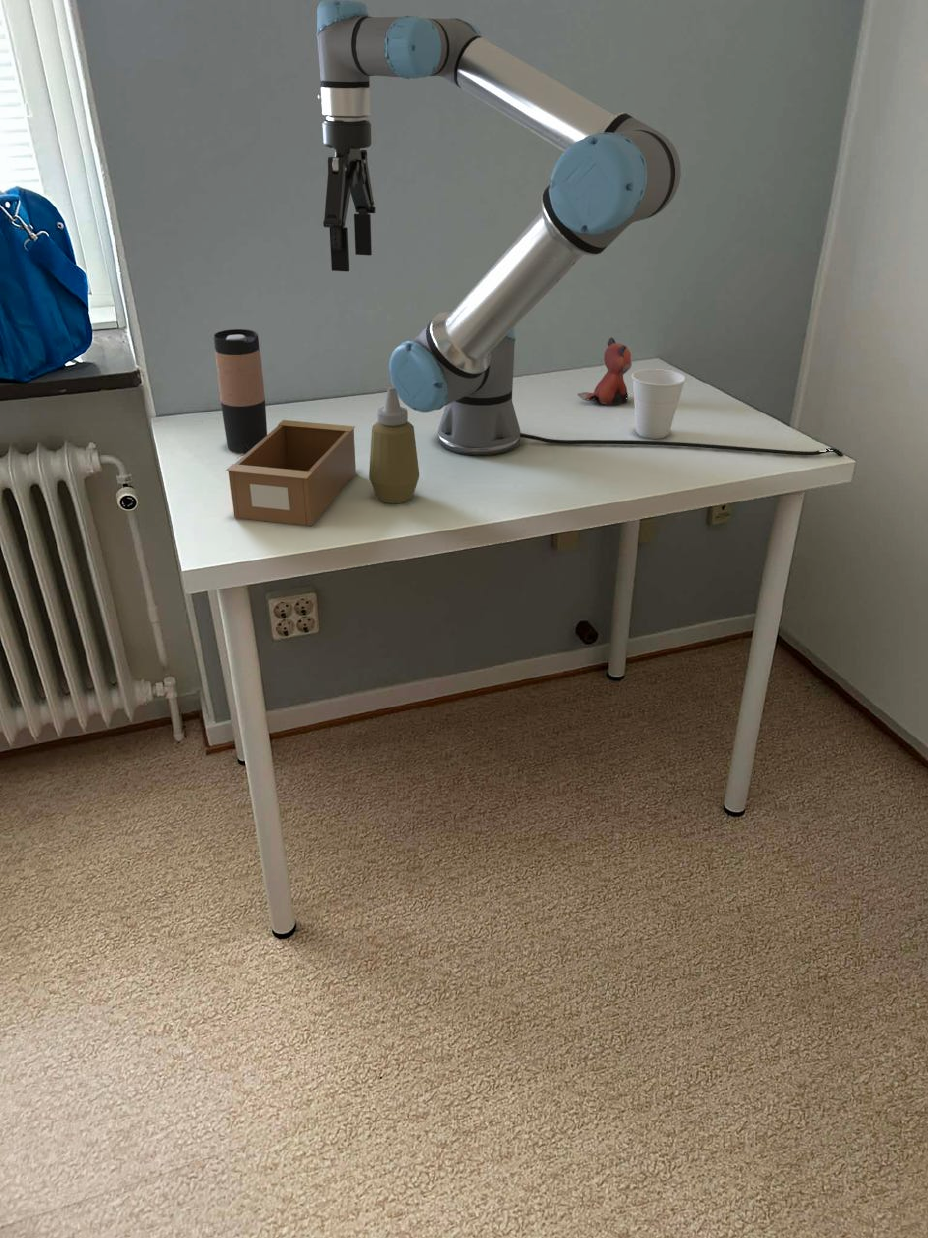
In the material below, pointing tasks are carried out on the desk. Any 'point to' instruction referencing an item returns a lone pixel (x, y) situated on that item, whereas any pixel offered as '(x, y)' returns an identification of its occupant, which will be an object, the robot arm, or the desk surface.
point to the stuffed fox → (612, 376)
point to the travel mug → (241, 388)
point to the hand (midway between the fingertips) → (352, 262)
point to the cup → (656, 400)
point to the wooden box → (293, 473)
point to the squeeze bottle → (393, 453)
